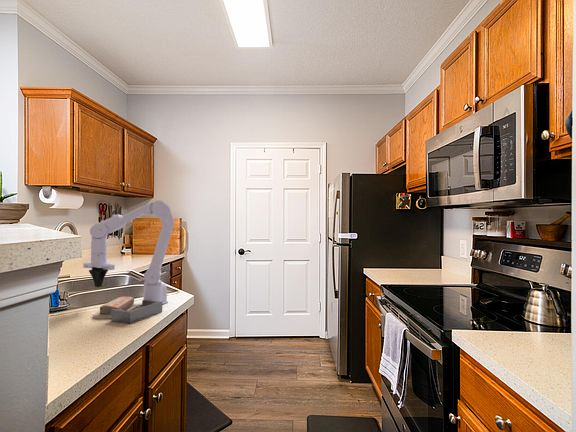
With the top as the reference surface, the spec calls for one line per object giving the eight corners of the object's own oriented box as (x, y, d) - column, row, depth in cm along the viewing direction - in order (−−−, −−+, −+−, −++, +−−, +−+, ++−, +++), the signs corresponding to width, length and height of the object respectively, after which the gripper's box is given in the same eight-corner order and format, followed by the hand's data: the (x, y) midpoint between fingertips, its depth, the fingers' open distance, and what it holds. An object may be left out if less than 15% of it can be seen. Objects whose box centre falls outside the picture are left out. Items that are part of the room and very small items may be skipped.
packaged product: (115, 295, 148) (139, 295, 148) (114, 307, 148) (139, 307, 148) (92, 306, 130) (119, 306, 130) (91, 319, 130) (119, 320, 130)
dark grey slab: (144, 309, 143) (144, 299, 143) (162, 311, 140) (162, 301, 140) (110, 321, 127) (111, 309, 127) (129, 323, 124) (130, 312, 124)
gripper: (76, 253, 144) (76, 286, 144) (104, 255, 139) (104, 289, 139) (91, 251, 151) (91, 283, 151) (118, 253, 146) (118, 286, 146)
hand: (98, 286), depth 145 cm, fingers closed
